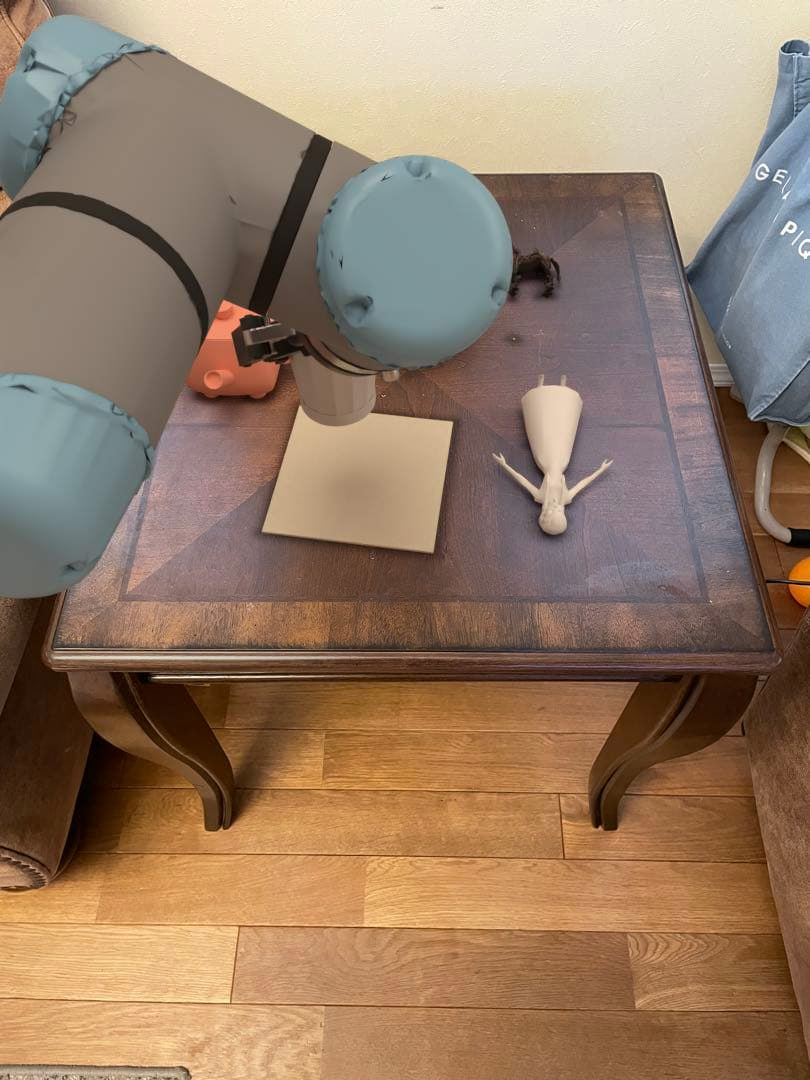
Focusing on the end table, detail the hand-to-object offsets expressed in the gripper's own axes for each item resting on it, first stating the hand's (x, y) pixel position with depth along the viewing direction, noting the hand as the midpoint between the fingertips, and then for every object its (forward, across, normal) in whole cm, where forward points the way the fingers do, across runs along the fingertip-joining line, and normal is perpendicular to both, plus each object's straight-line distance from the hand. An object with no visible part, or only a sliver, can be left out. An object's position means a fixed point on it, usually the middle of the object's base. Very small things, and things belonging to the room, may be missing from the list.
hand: (324, 337), depth 66 cm
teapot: (+21, -8, -1) cm, 23 cm away
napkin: (+9, +2, -13) cm, 16 cm away
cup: (0, 0, -5) cm, 5 cm away
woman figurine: (+7, +20, -16) cm, 26 cm away
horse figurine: (+24, +27, +1) cm, 36 cm away
